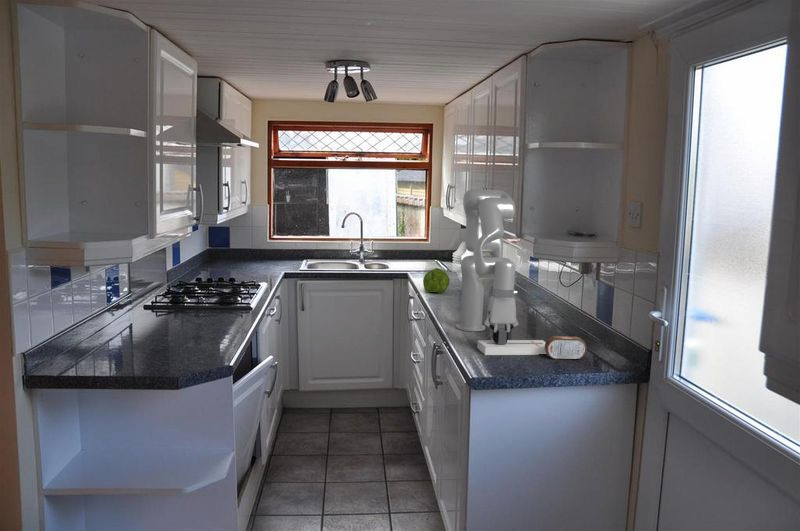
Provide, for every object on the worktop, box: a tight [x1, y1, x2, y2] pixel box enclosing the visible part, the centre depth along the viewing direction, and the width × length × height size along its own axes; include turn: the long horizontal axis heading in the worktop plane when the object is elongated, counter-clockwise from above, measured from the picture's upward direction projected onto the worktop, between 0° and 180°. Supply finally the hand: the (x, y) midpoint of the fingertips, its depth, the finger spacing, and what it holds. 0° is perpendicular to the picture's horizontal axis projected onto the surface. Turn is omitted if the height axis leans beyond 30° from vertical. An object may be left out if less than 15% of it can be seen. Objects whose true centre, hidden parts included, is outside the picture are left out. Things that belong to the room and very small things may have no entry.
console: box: [476, 339, 547, 356], centre depth 244 cm, size 10×26×3 cm, turn 100°
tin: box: [545, 335, 588, 360], centre depth 236 cm, size 15×3×8 cm, turn 92°
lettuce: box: [422, 267, 451, 293], centre depth 371 cm, size 14×24×15 cm
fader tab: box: [497, 327, 507, 344], centre depth 243 cm, size 5×3×5 cm, turn 10°
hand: (500, 341), depth 243 cm, fingers closed on fader tab, 3 cm apart
